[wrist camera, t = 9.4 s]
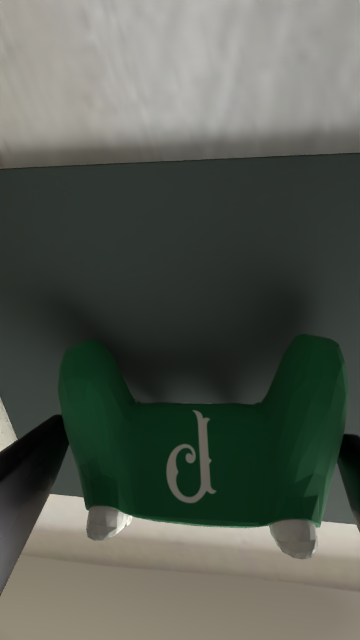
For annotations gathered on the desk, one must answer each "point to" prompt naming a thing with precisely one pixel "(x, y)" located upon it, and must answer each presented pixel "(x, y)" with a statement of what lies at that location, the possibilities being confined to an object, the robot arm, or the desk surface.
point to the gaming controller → (208, 447)
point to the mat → (178, 280)
